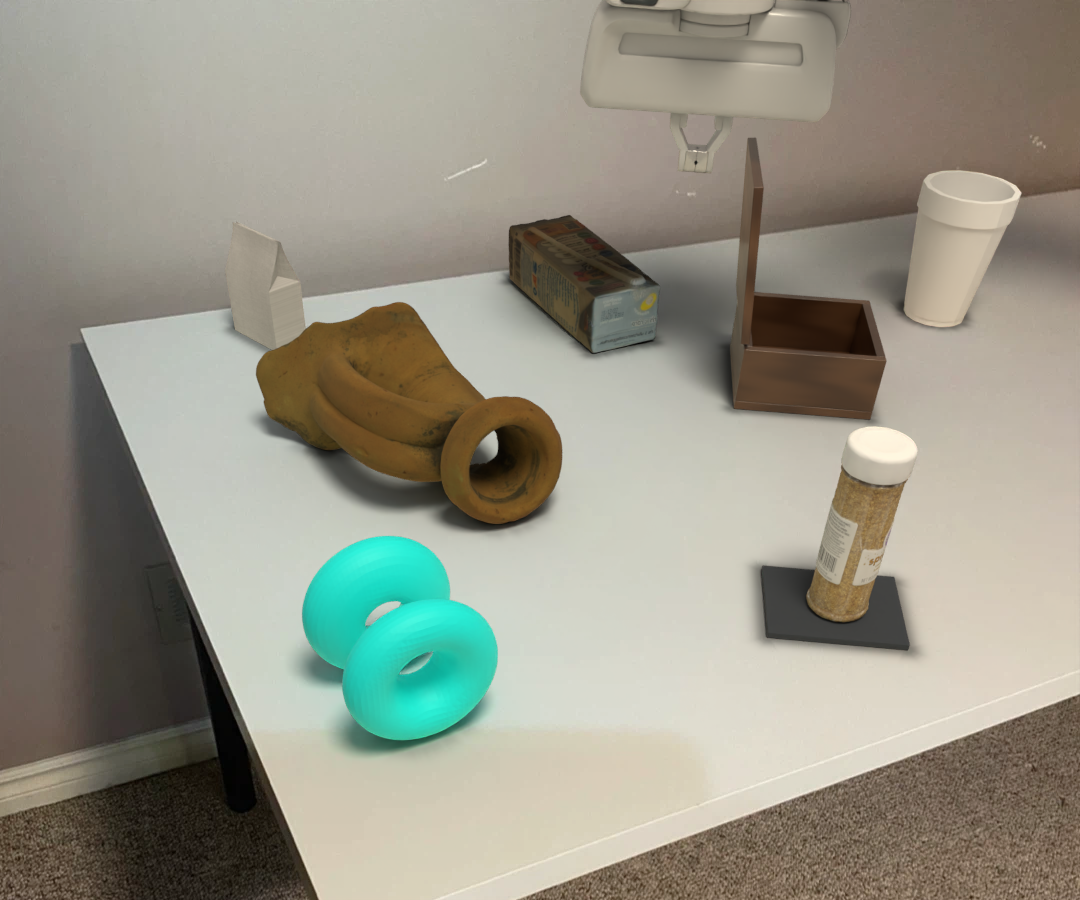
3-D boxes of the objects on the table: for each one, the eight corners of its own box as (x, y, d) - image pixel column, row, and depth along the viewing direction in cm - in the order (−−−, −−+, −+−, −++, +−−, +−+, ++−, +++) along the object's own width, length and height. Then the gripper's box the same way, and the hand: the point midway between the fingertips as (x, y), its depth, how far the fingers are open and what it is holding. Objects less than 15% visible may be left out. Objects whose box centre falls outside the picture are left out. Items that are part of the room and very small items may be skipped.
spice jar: (872, 626, 77) (926, 461, 67) (808, 623, 77) (854, 458, 67) (861, 587, 80) (911, 424, 71) (800, 584, 80) (842, 421, 71)
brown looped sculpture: (468, 304, 96) (594, 371, 80) (441, 445, 102) (553, 533, 86) (266, 268, 86) (363, 337, 71) (248, 426, 92) (334, 522, 77)
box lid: (756, 137, 95) (747, 137, 95) (763, 186, 86) (753, 187, 86) (744, 285, 104) (735, 286, 104) (749, 344, 95) (740, 344, 95)
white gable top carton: (277, 352, 104) (262, 248, 97) (235, 330, 107) (217, 226, 100) (307, 340, 106) (294, 237, 99) (265, 318, 109) (249, 217, 102)
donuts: (440, 629, 76) (436, 510, 69) (505, 719, 70) (507, 598, 62) (305, 671, 72) (285, 550, 65) (360, 770, 66) (345, 648, 59)
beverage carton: (588, 356, 106) (593, 290, 101) (504, 281, 118) (505, 219, 113) (657, 342, 109) (664, 277, 104) (568, 270, 120) (571, 209, 116)
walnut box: (855, 357, 108) (869, 300, 104) (870, 419, 99) (886, 360, 95) (729, 347, 108) (739, 290, 104) (733, 409, 100) (744, 349, 95)
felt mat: (892, 581, 82) (894, 576, 81) (908, 650, 76) (910, 645, 76) (761, 570, 82) (762, 565, 82) (766, 637, 76) (767, 632, 76)
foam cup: (927, 288, 120) (964, 164, 111) (995, 320, 115) (1040, 192, 106) (871, 308, 116) (904, 180, 107) (939, 341, 111) (980, 210, 102)
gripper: (852, -25, 83) (814, 166, 93) (590, -41, 84) (579, 150, 94) (862, -7, 79) (820, 192, 89) (584, -24, 80) (574, 174, 89)
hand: (694, 170), depth 91 cm, fingers closed
